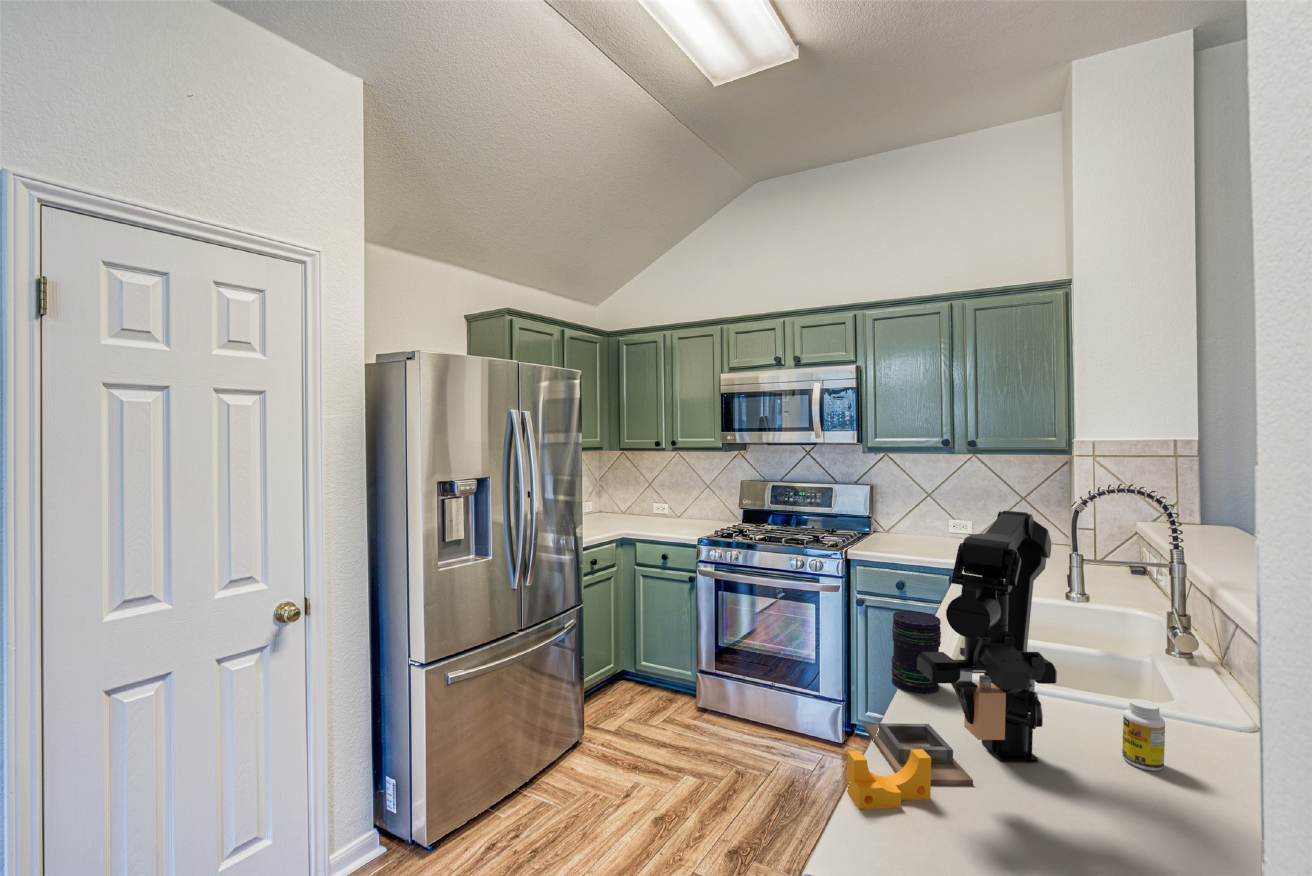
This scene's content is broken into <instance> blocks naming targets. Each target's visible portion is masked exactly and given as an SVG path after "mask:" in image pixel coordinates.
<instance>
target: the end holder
mask: <svg viewBox="0 0 1312 876" xmlns="http://www.w3.org/2000/svg"><path fill="white" fill-rule="evenodd" d="M863 726H864V727H863V729H864V731H865V732H866V733H867V735H868V737H870V740H871V741H873V739H874V742H873V743H874V745H875V746H876V748H877V749H878V750H879V752H880V753H881V754H882V757H883V758H884V759H885V761H886V762H887V763H888V765H889V767H891V769H892V770H893V772H894V774H895V773H897V772H899V771H900V770H901V769H902V768H903V767H904V766H905V765H906V763H907V761H908V759H909V756H910V749H923V750H924V751H925V752H926V753H927V754H928V755H929V756H930V757H931V785H934V786H937V785H940V786H943V785H945V786H948V785H949V786H974V780H973V778H972V777H971V776H970V775H969V774H968V772H967V771H965V769H964V768H963V767H962V766H961V765H960V764H959V763H958V762H957V761H956V759H955V758H954V749H953V748H952V747H951V746H950V745H949V744H948V743H947V742H946V741H945V739H944V738H943V737H942V736H941V735H940V734H939V732H937V731H936V730H935V729H934V728H933V727H932V726H931V724H930V723H892V722H891V723H890V722H889V723H884V722H883V723H882V722H881V723H880V722H879V723H878V724H868V723H867V724H863ZM878 728H879V731H878ZM877 731H878V733H877ZM876 734H877V736H876Z"/></svg>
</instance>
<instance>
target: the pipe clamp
mask: <svg viewBox="0 0 1312 876" xmlns="http://www.w3.org/2000/svg"><path fill="white" fill-rule="evenodd" d="M846 763H847V768H846V769H847V770H846V772H847V777H846V778H847V779H846V787H847V786H848V785H849V786H848V790H847V789H846V793H847V795H848V796H849V797H850V799H851V800H852V802H853V803H854V804H855V806H856V807H857V809H858V810H869V809H870V810H871V809H895V808H897V809H898V808H902V801H912V800H915V801H916V800H931V790H932V789H931V788H932V787H931V757H930V756H929V755H928V754H927V753H926V752H925V751H924V750H923V749H910V756H909V759H908V761H907V763H906V765H905V766H904V767H903V768H902V769H901V770H900V771H899V772H897V773H895V772H894V773H892V774H890V775H884V776H883V775H878V774H875V773H873V772H871V771H870V769H869V766H868V759H867V758H866V757H865V755H864V754H863V753H862V751H860V750H850V751H849V750H848V751H847V761H846ZM850 782H851V783H850Z"/></svg>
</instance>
